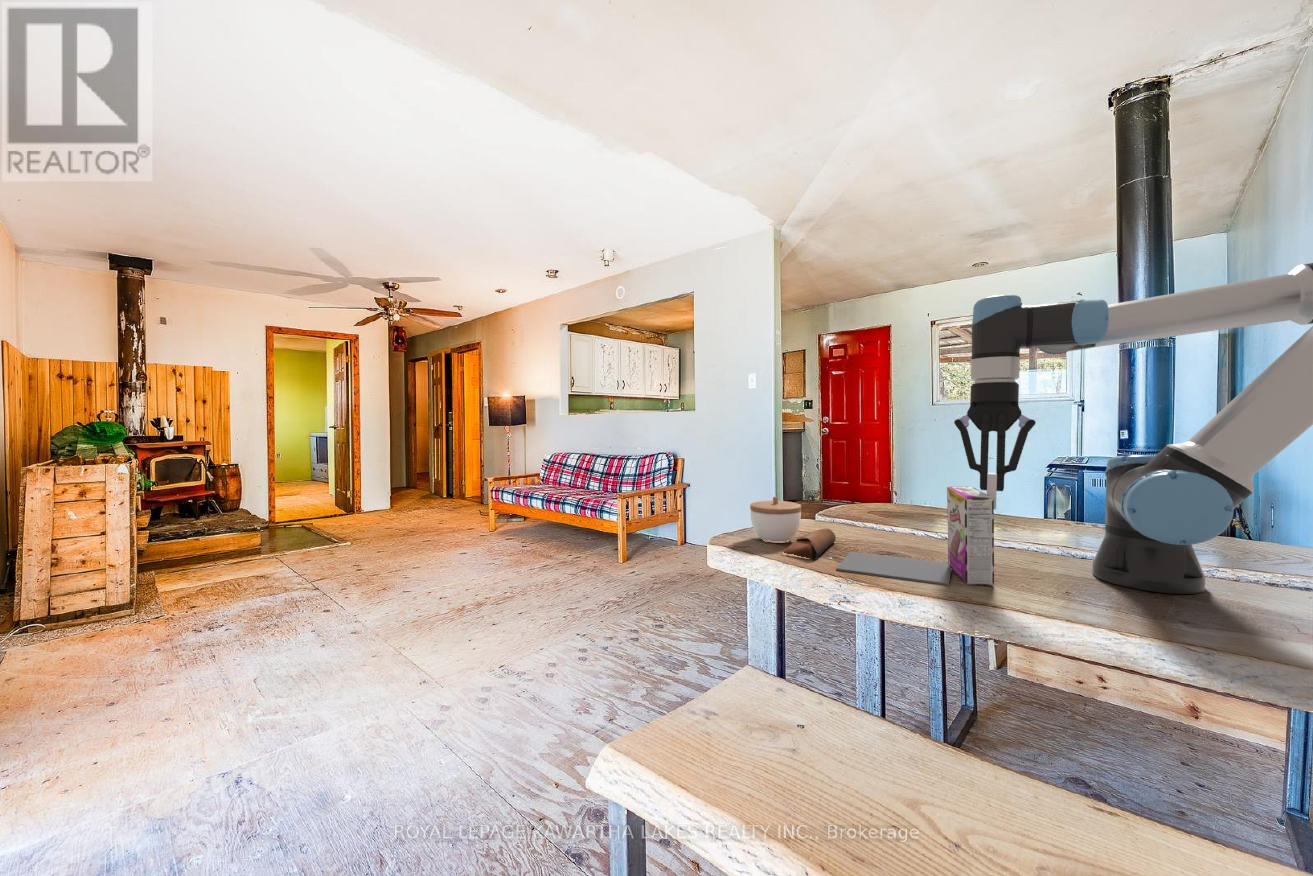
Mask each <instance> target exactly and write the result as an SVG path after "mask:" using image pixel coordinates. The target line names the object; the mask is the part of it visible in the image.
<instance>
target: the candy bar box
mask: <svg viewBox="0 0 1313 876" xmlns="http://www.w3.org/2000/svg"><path fill="white" fill-rule="evenodd" d="M946 500H947V501H946V502H947V503H946V504H947V506H946V508H947V513H946V514H947V563H948V565H949V566H950V567H951V570H952V571H954V573H955V574H956V575H957V576H958V577H959V578H960V579H961V580H962V581H963V582H964V583H965V584H966V585H968V586H995V515H994V514H995V513H994V511H995V509H994V498H992V497H990V496H988V495H987V493H985V492H983V491H982V490H979V489H978V488H976V487H974V486H959V485H957V486H947V487H946Z"/></svg>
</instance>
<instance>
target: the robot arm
mask: <svg viewBox="0 0 1313 876" xmlns="http://www.w3.org/2000/svg"><path fill="white" fill-rule="evenodd" d="M1288 321H1291V322H1294V323H1295V324H1297V325H1300V326H1304V325H1311V327H1310V328H1309V329H1308V330H1307V331H1305V332H1304V333H1303V334H1302V335H1301V336H1300V337H1299V338H1298V339H1297V340H1296V341H1294V343H1292V344H1291V345H1290V346H1288V348H1287V349H1286V350H1285V351H1284V352H1283V353H1281V354H1280V356H1278V358H1276V359H1275V360H1274V361H1273V362H1272V363H1271V364H1269V366H1267V367H1266V368H1265V369H1264V370H1263V371H1262V372H1261V373H1260V374H1259V375H1258V376H1257V377H1256V378H1255V379H1253V380H1252V381H1251V382H1250V383H1249V384H1248V385H1247V386H1246V387H1245V388H1244V389H1243V390H1241V391H1240V392H1239V394H1237V395H1236V396H1235V397H1234V398H1233V399H1232V400H1231V401H1230V402H1229V403H1227V404H1226V405H1225V407H1223V408H1222V409H1221V410H1220V411H1219V412H1218V413H1217V414H1215V415H1214V416H1213V417H1212V419H1210V420H1209V421H1208V422H1207V423H1205V425H1204V426H1202V428H1201V429H1199V430H1198V431H1197V432H1196V433H1195V434H1194V435H1193V436H1192V437H1190V439H1189V440H1188V441H1185V442H1179V443H1171V444H1167V445H1165V446H1164V447H1163V449H1161V450H1160V451H1159V452H1158V453H1157V454H1156V455H1118V456H1113V457H1110V458H1109V459H1108V460H1107V463H1106V469H1105V471H1104V475H1105V477H1106V481H1105V483H1106V484H1105V516H1104V517H1105V521H1104V522H1105V523H1104V524H1105V527H1104V528H1105V529H1104V530H1105V532H1104V533H1105V534H1104V536H1103V539H1102V541H1101V544H1100V545H1099V547H1098V549H1097V552H1096V554H1095V557H1094V559H1093V561H1092V571H1091V572H1092V575H1093V576H1095V577H1096V578H1098V579H1099V580H1102V581H1105V582H1108V583H1111V584H1114V585H1118V586H1122V587H1125V586H1126V588H1130V587H1131V589H1136V590H1142V591H1148V592H1154V593H1155V592H1156V593H1163V594H1175V595H1176V594H1177V595H1178V594H1179V595H1191V594H1192V595H1195V594H1200V593H1203V592H1205V591H1206V576H1205V574H1204V571H1203V569H1202V566H1201V564H1200V562H1199V559H1198V556H1197V554H1196V552H1195V550H1194V547H1193V545H1197V544H1202V543H1205V542H1209V541H1211V540H1213V539H1215V538H1216V537H1218V536H1220V535H1221V534H1222V533H1224V531H1226V530H1227V529H1228V528H1229V526H1230V524H1231V522H1232V520H1233V517H1234V512H1235V511H1234V510H1235V508H1236V507H1238V506H1239V505H1240V504H1241V503H1243V501H1245V500H1246V499H1247V498H1248V497H1250V495H1252V494H1253V493H1254V492H1255V488H1254V483H1253V477H1254V476H1255V474H1257V473H1258V472H1259V471H1261V469H1262V468H1264V467H1265V466H1266V465H1267V464H1268V463H1270V462H1271V461H1272V460H1273V459H1274V458H1276V457H1277V456H1278V455H1279V454H1280V453H1281V452H1283V451H1284V450H1285V449H1287V447H1288V446H1290V445H1291V444H1292V443H1293V442H1295V440H1297V439H1298V438H1299V437H1300V436H1302V435H1303V434H1304V433H1305V432H1306V431H1307V430H1309V428H1310V427H1312V426H1313V262H1310V263H1303V264H1299V265H1296V266H1295V267H1294V268H1293V269H1292V270H1290V271H1289V272H1288V273H1285V274H1284V273H1283V274H1279V275H1273V276H1268V277H1267V276H1266V277H1261V278H1256V279H1250V280H1243V281H1238V282H1232V283H1228V284H1220V285H1215V286H1214V285H1213V286H1209V287H1204V288H1203V287H1202V288H1199V289H1197V288H1196V289H1193V290H1187V291H1180V292H1175V293H1169V294H1163V295H1157V296H1152V297H1146V298H1140V299H1135V300H1127V301H1123V302H1118V303H1117V302H1116V303H1112V304H1108V303H1107V301H1106V300H1105V299H1087V300H1086V299H1079V300H1073V301H1063V302H1054V303H1045V304H1035V305H1031V304H1030V305H1027V304H1026V305H1024V304H1023V302H1022V298H1021V296H1019V295H1017V294H1007V295H1006V294H1000V295H992V296H987V297H984V298H981V299H979V300H977V301H976V302H975V303H974V305H973V309H972V324H971V361H970V380H971V381H973V382H974V383H971V385H970V398H969V399H970V401H969V403H970V405H969V408H968V409H967V412H966V414H965V415H963V416H962V417H960V418H957V419H955V420H954V422H953V423H954V425H955V427H956V428H957V429H958V430H959V432H960V437H961V440H962V444H963V448H964V452H965V455H966V459H967V464H968V466H969V467H968V468H969V469H970V470H974V471H976V472H978V473H979V488H980V491H986V494H987V495H988V496H990V497H992V498H994V510H997V492H1004V488H1005V475H1006V474H1007V473H1010V472H1011V473H1012V472H1014V471H1016V470H1017V469H1018V465H1019V462H1020V459H1021V457H1022V453H1023V451H1024V446H1025V444H1026V441H1027V438H1028V435H1029V432H1030V431H1031V430H1032V429H1033V427H1034V426H1035V425H1036V422H1037V421H1036V420H1035V419H1031V418H1029V417H1027V416H1026V415H1023V413H1022V410H1021V408H1020V406H1019V394H1020V393H1019V391H1020V388H1019V386H1020V385H1019V383H1018V382H1016V380H1018V379H1019V378H1020V361H1021V360H1020V359H1021V358H1020V357H1021V356H1020V352H1021V351H1020V350H1021V349H1029V348H1030V349H1031V348H1037V349H1038V350H1039V351H1041V352H1043V353H1045V354H1047V355H1054V356H1055V355H1061V354H1062V355H1063V354H1066V353H1068V352H1072V351H1080V350H1086V349H1091V348H1100V347H1106V346H1113V345H1120V344H1127V343H1134V342H1135V343H1136V342H1141V341H1142V342H1143V341H1150V340H1157V339H1164V338H1171V337H1177V336H1179V337H1180V336H1185V335H1194V334H1200V333H1207V332H1208V333H1209V332H1213V331H1214V332H1215V331H1222V330H1223V331H1224V330H1230V329H1236V328H1244V327H1251V326H1258V325H1264V324H1265V325H1266V324H1271V323H1279V322H1288ZM969 420H970V421H971V422H972V424H973V425H974V426H975V428H977V429H978V431H980V455H979V456H980V459H979V460H980V464H979V463H977V461H976V457H975V453H974V451H973V450H974V449H973V446H972V441H971V438H970V435H969V430H968V427H969V426H970V422H969ZM1017 421H1018V424H1017V425H1018V427H1019V428H1020V429H1019V431H1018V434H1017V437H1016V440H1015V443H1014V446H1013V450H1012V453H1011V455H1010V459H1009V461H1008V464H1005V462H1006V436H1007V435H1006V432H1007V431H1008V430H1010V429H1011V428H1012V427H1013V425H1014V424H1016V422H1017ZM990 432H996V467H995V468H996V470H995V472H989V439H990Z"/></svg>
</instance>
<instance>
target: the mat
mask: <svg viewBox="0 0 1313 876" xmlns="http://www.w3.org/2000/svg"><path fill="white" fill-rule="evenodd" d="M835 570H836V571H839V572H848V573H854V574H861V575H869V576H875V577H884V578H890V579H898V580H906V581H912V582H920V583H928V584H934V585H943V586H948V587H949V586H950V583H951V582H950V581H951V573H952V568H951V567H950V566H949V565H948V562H945V561H944V562H943V561H937V560H936V561H935V560H929V559H928V560H927V559H921V558H920V559H919V558H910V557H903V556H902V557H901V556H892V555H883V554H876V553H869V552H868V553H867V552H857V551H850V552H849V553H848V554H847V555H846V557H845V558H844V559H842V561H841V562H840V563H839V564H838V565H837V567H836V568H835Z"/></svg>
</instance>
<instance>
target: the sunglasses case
mask: <svg viewBox="0 0 1313 876" xmlns="http://www.w3.org/2000/svg"><path fill="white" fill-rule="evenodd" d="M836 539H837V538H836V535H835V533H834V531H833V530H831V529H829V528H821V529H817V530H814V531H811V532H809V533H806V534H804V535H802V536H799V537H798V538H796V541H794V542H793V543H791V544H790V545H789V546H788V547H786V548H785V549H784V550H783V551H782V552H784V553H787V554H794V555H797V556H801V557H806V558H810V559H815V560H817V559H818V558H819V557H820V556H821V554H823V553H824V551H826V549H827V548H828V547H830V546H831V545H833V543H835V542H836ZM810 559H809V560H810Z"/></svg>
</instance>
